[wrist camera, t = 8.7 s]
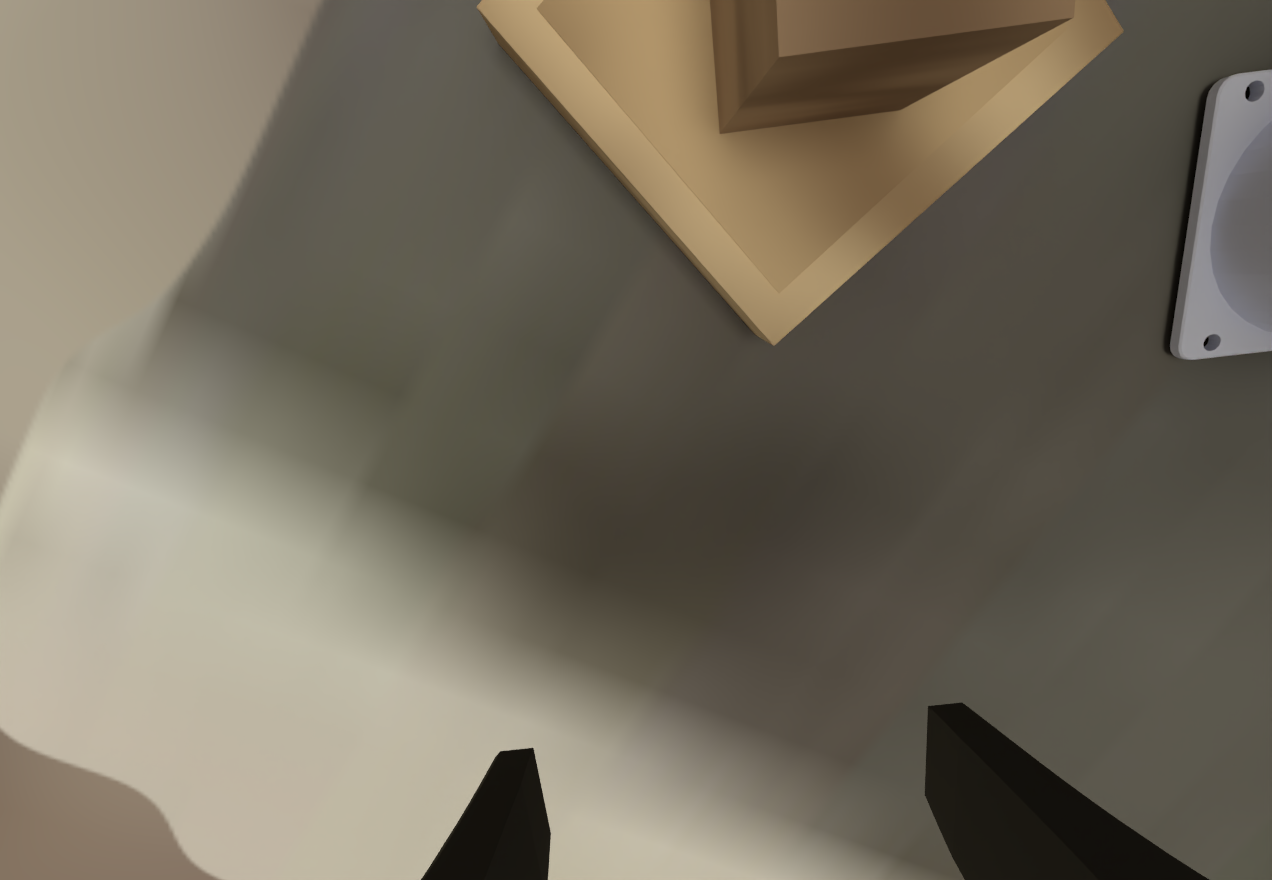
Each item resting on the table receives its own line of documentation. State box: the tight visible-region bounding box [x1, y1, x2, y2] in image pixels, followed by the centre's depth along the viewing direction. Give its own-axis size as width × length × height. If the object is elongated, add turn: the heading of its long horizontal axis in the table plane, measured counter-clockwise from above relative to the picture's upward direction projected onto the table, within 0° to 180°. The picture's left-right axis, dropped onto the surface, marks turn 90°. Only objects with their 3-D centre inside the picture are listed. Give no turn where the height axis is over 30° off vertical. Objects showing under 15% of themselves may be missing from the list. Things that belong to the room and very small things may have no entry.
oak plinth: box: [477, 0, 1124, 346], centre depth 15 cm, size 11×11×3 cm
